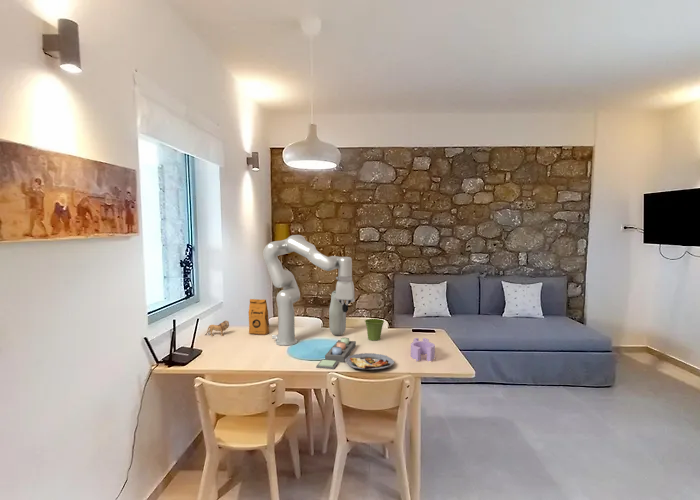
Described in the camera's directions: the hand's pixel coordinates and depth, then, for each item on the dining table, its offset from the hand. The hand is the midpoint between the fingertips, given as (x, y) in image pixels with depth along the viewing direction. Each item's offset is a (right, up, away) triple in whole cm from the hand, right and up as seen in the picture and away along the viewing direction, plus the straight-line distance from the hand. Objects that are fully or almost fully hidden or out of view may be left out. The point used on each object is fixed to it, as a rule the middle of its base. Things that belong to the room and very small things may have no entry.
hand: (345, 311), depth 243 cm
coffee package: (-55, -19, +32) cm, 66 cm away
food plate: (+12, -23, -25) cm, 36 cm away
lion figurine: (-80, -19, +29) cm, 87 cm away
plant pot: (+17, -20, +20) cm, 33 cm away
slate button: (-4, -21, -16) cm, 26 cm away
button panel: (-2, -22, -7) cm, 23 cm away
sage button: (0, -19, +2) cm, 19 cm away
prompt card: (-9, -23, -26) cm, 36 cm away
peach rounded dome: (-2, -20, -7) cm, 21 cm away
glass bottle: (-5, -19, +29) cm, 35 cm away
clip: (+41, -22, -11) cm, 48 cm away
